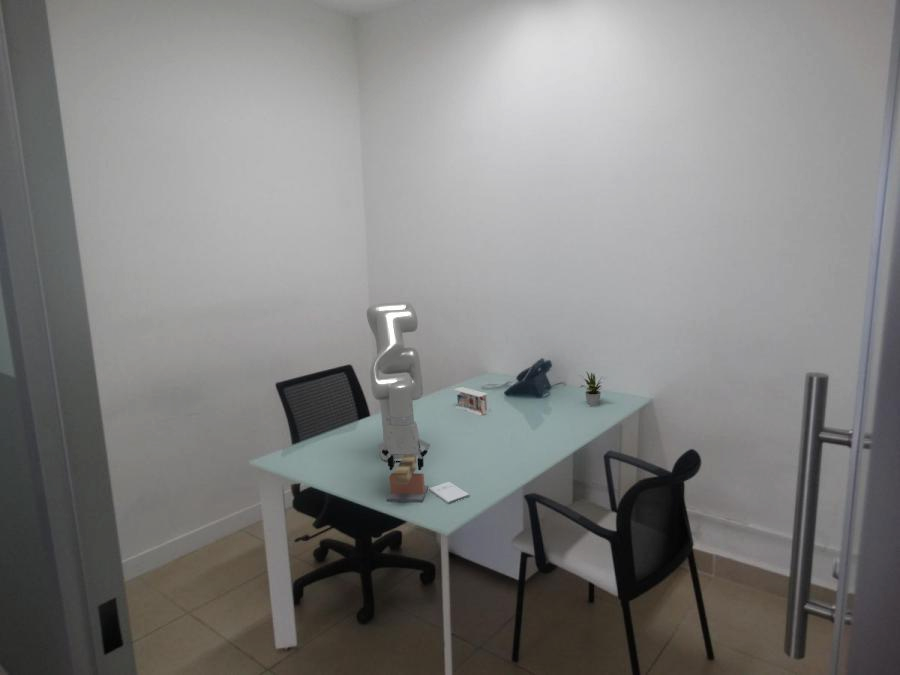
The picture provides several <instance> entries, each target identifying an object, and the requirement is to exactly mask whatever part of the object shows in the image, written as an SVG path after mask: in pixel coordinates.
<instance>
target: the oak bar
mask: <svg viewBox="0 0 900 675" xmlns="http://www.w3.org/2000/svg"><path fill="white" fill-rule="evenodd" d="M417 468H418V460H417V455H416V454H415V455H405V456H404V457H403V459H402V461H401V462H399V464H398V466H397V468H396V469H395V471H394V472H393V473H394V474H395V484H403V485H408V483H409V481H410V479H411V477H412V475H413V473H415V471H416V469H417Z"/></svg>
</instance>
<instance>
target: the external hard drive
mask: <svg viewBox="0 0 900 675" xmlns="http://www.w3.org/2000/svg"><path fill="white" fill-rule="evenodd" d="M428 491H429V492H430V491H431V493H432V495H434V496H436V497H437V496H438V497H437V498H439V499H440V500H442V501H443V502H444V503H446V504H447V505H452V504H454V503H456V501H457V502H459V501H458V500H460V501H462V500H461V499H463V500H465V499H464V498H466V499H468V497H469V498H470V496H471V495H470V494H469V493H468V492H466V491H464V490H463V489H461V488H460V487H458V486H457V485H455V484H453V483H452V482H450V481H446V482H443V483H441V484H437V485H435V486H431V487H430V488H429V489H428Z"/></svg>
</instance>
